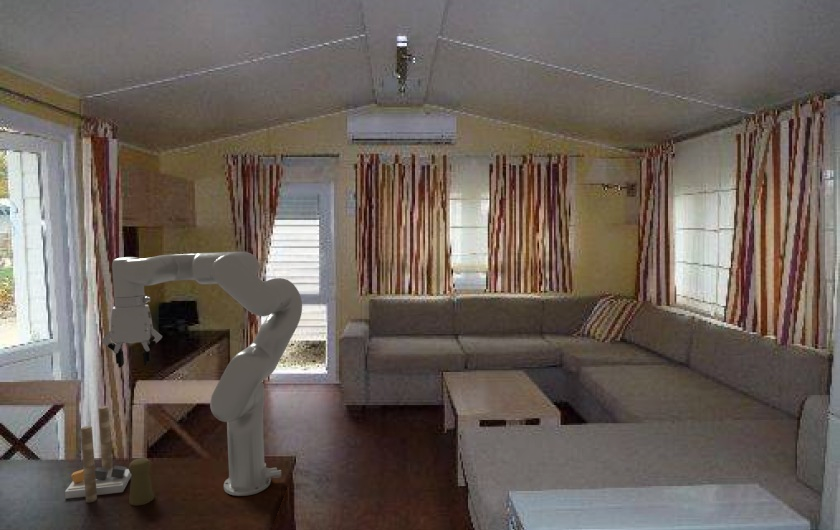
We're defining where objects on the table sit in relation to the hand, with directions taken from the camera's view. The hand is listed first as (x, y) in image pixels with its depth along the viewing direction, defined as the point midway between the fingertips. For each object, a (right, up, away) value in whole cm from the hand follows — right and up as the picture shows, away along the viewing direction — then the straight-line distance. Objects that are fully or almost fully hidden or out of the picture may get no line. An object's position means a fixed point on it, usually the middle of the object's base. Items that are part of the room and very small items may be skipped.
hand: (133, 364), depth 160 cm
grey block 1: (-9, -32, -1) cm, 33 cm away
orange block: (-13, -32, -2) cm, 35 cm away
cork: (+6, -35, -8) cm, 36 cm away
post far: (-11, -33, +6) cm, 35 cm away
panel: (-9, -34, -1) cm, 35 cm away
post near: (-7, -35, -8) cm, 36 cm away
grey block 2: (-5, -32, 0) cm, 32 cm away
